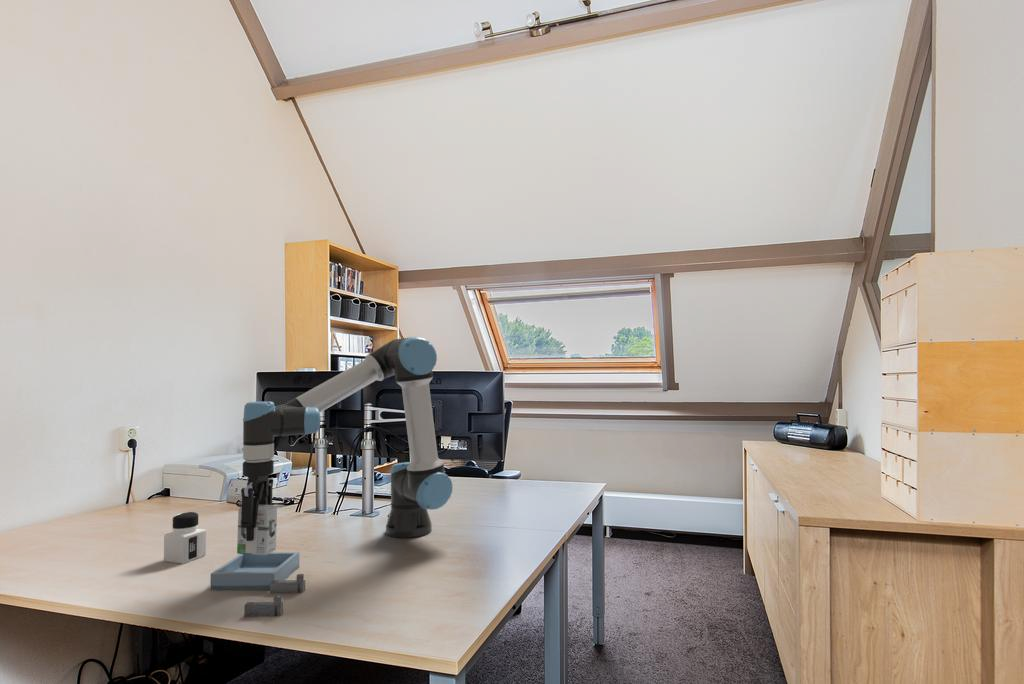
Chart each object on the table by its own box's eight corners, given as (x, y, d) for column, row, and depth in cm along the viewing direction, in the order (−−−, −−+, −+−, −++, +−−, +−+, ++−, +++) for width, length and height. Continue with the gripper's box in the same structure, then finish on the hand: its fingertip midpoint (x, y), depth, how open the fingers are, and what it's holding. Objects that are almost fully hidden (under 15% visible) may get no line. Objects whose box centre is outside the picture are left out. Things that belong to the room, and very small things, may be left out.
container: (206, 555, 166) (206, 511, 166) (183, 564, 159) (184, 517, 159) (186, 553, 168) (187, 509, 169) (163, 561, 161) (163, 515, 162)
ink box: (235, 554, 146) (236, 508, 146) (247, 548, 151) (248, 503, 151) (266, 555, 144) (266, 509, 145) (277, 549, 149) (277, 504, 150)
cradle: (305, 590, 138) (305, 573, 139) (280, 616, 124) (280, 597, 124) (273, 590, 138) (273, 574, 139) (244, 616, 124) (244, 598, 124)
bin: (299, 566, 155) (299, 552, 155) (274, 589, 139) (274, 573, 139) (242, 567, 155) (242, 552, 155) (210, 590, 139) (210, 573, 140)
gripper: (260, 454, 158) (258, 538, 157) (226, 465, 140) (224, 560, 138) (286, 454, 158) (285, 538, 157) (256, 465, 139) (254, 560, 138)
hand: (256, 548), depth 148 cm, fingers closed on ink box, 5 cm apart
